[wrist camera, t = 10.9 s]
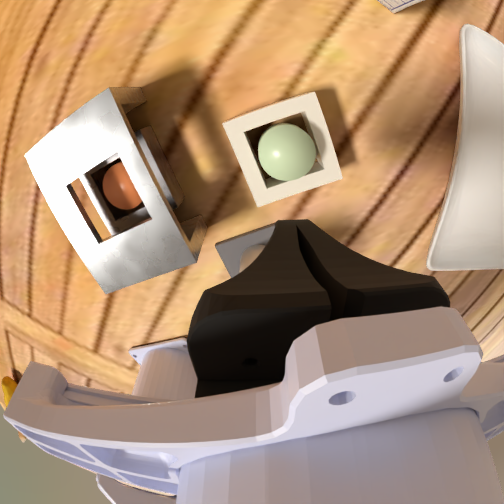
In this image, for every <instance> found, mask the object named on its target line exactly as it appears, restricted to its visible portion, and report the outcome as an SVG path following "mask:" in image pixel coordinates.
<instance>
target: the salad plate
mask: <svg viewBox="0 0 504 504" xmlns="http://www.w3.org/2000/svg"><path fill="white" fill-rule="evenodd" d="M459 54H460V76H461V83H460V109H459V121H458V130H457V138H456V145H455V151H454V157H453V163H452V168H451V173H450V177H449V182H448V186H447V190H446V193H445V197H444V201H443V204H442V208H441V211H440V214H439V217H438V220H437V223H436V226H435V229H434V232H433V235H432V238H431V242H430V245H429V249H428V254H427V261H426V265H427V268H428V269H429V270H432V271H456V270H486V269H504V44H503V43H502V42H500V41H499V40H497V39H496V38H494V37H493V36H492V35H490V34H488V33H487V32H485V31H484V30H482V29H480V28H478V27H476V26H474V25H471V24H465V25H463V26H462V28H461V30H460V36H459Z"/></svg>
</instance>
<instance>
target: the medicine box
mask: <svg viewBox="0 0 504 504" xmlns="http://www.w3.org/2000/svg"><path fill="white" fill-rule="evenodd" d="M377 1H379V2H380V3H381V4H383V5H384V6H385V7H387V8H388V9H389V10H390V11H391V12H392V13H396V12H398V11H401V10H403V9H405V8H407V7H409V6H411V5H414V4H416V3H419V2H421V1H424V0H377Z"/></svg>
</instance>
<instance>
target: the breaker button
mask: <svg viewBox="0 0 504 504" xmlns="http://www.w3.org/2000/svg"><path fill="white" fill-rule="evenodd" d="M103 191H104V194H105V196H106V198H107V199H108V201H109V202H110V203H111V204H112V205H114V206H115V207H117V208H120V209H132V208H135V207H136V206H138V205H139V204H140V203H141V202H142V199H141V197H140V196H139V194H138V192H137V190H136V188H135V186H134V184H133V182H132V180H131V178H130V176H129V174H128V172H127V170H126V168H125V166H124V164H123V162H122V161H120V162H119V163H117V164H115V165H114V166H112V167H111V168H109V169H108V171H107V172H106V174H105V176H104V179H103Z"/></svg>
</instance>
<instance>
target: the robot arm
mask: <svg viewBox="0 0 504 504" xmlns="http://www.w3.org/2000/svg"><path fill="white" fill-rule="evenodd" d="M129 354H130V355H131V356H132V357H133V358H134V359H135V360H136V361H137V362H138V363H139V364H140V369H139V372H138V376H137V379H136V382H135V385H134V388H133V392H132V395H129V394H122V393H116V392H110V391H104V390H99V389H94V388H89V387H84V386H79V385H75V384H70V383H68V382H67V380H66V379H65V377H64V376H63V374H62V373H61V372H60V371H59V370H57V369H56V368H54V367H52V366H49V365H45V364H41V363H37V362H33V361H32V362H30V363H29V365H28V367H27V368H26V370H25V372H24V374H23V376H22V378H21V380H20V382H19V383H18V385H17V387H16V389H15V391H14V393H13V395H12V397H11V399H10V402H9V404H8V406H7V408H6V410H5V412H4V415H3V416H4V418H5V419H6V420H7V421H8V422H9V423H10V424H11V425H13V426H14V427H15V428H16V429H17V430H18V431H19V432H21V433H22V434H23V435H24V436H25V437H27V438H28V439H29V440H30V441H32V442H33V443H34V444H36V445H37V446H38V447H40V448H41V449H42V450H44V451H45V452H47V453H49V454H51V455H53V456H56V457H58V458H61V459H63V460H66V461H68V462H70V463H73V464H75V465H78V466H80V467H83V468H86V469H88V470H91V471H93V472H96V473H97V475H96V481H97V482H98V487H99V489H100V490H101V491H102V493H103V494H104V495H105V496H106V497H107V498H108V499H109V500H110V501H111V502H112V504H504V497H503V493H502V489H501V485H500V482H499V478H498V474H497V471H496V468H495V464H494V461H493V458H492V455H491V452H490V449H489V446H488V443H487V441H488V440H490V439H491V438H493V437H495V436H496V435H498V434H499V433H501V432H502V431H504V355H502V356H499V357H496V358H494V359H491V360H488V361H486V362H481V360H482V356H483V352H482V350H481V347H480V345H479V343H478V342H477V340H476V339H475V337H474V335H473V334H472V332H471V330H470V329H469V327H468V326H467V324H466V323H465V321H464V320H463V318H462V317H461V315H460V314H459V312H458V311H457V309H456V308H450V301H449V298H448V295H447V294H446V292H445V291H444V290H443V288H442V287H441V285H440V284H439V283H438V281H437V280H436V279H435V277H432V276H427V275H422V274H416V273H411V272H407V271H403V270H400V269H396V268H393V267H390V266H387V265H384V264H381V263H379V262H376V261H374V260H371V259H369V258H367V257H365V256H363V255H361V254H359V253H357V252H355V251H353V250H351V249H349V248H348V247H346V246H344V245H343V244H341V243H340V242H338V241H337V240H335V239H334V238H332V237H331V236H329V235H328V234H327V233H325V232H324V231H323V230H321V229H320V228H319V227H318V226H316V225H315V224H314V223H312V222H311V221H310V220H308V219H306V220H278V221H277V222H276V223H275V228H274V231H273V234H272V236H271V237H270V239H269V241H268V243H267V244H266V246H265V247H264V249H263V250H262V252H261V253H260V254H259V256H258V257H257V258H256V259H255V260H254V261H253V262H252V263H251V264H250V265H249V266H248V267H247V268H245V269H244V270H243V271H242V272H240V273H239V274H237V275H236V276H234V277H232V278H231V279H229V280H227V281H225V282H223V283H221V284H219V285H216V286H214V287H212V288H210V289H207V290H205V291H204V292H203V294H202V296H201V298H200V300H199V302H198V304H197V307H196V309H195V311H194V314H193V317H192V320H191V324H190V328H189V333H188V337H187V339H186V338H178V339H173V340H169V341H164V342H160V343H155V344H150V345H145V346H140V347H135V348H131V349H129ZM115 479H117V480H120V481H123V482H126V483H130V484H133V485H137V486H140V487H144V488H148V489H152V490H156V491H160V492H165V493H170V494H174V496H164V495H160V494H156V493H152V492H148V491H145V490H141V489H138V488H134V487H131V486H128V485H125V484H122V483H120V482H118V481H117V480H115Z"/></svg>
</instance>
